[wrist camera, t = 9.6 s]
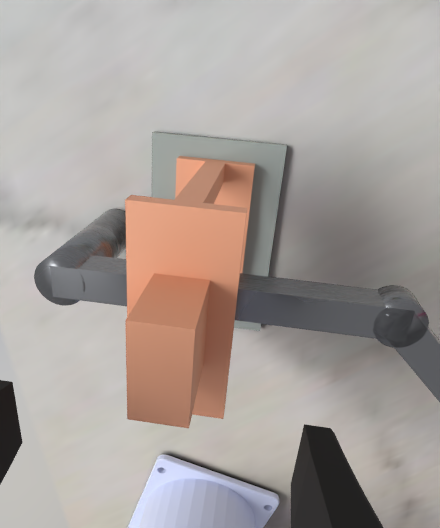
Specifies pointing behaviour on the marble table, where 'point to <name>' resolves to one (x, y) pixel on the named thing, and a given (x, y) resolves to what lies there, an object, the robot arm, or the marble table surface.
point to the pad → (263, 190)
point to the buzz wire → (252, 297)
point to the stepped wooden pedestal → (185, 290)
